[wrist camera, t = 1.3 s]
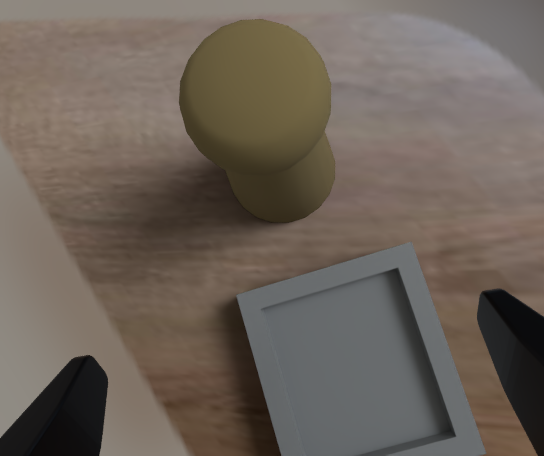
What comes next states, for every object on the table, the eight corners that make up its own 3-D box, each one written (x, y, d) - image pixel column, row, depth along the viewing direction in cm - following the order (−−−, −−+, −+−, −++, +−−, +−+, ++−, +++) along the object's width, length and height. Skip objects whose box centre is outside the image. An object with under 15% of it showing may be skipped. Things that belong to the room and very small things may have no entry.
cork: (256, 241, 23) (198, 207, 12) (212, 148, 24) (122, 41, 13) (354, 193, 23) (383, 115, 12) (306, 100, 24) (292, -49, 13)
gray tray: (470, 437, 21) (486, 453, 19) (297, 482, 21) (294, 503, 19) (403, 245, 22) (411, 241, 20) (243, 293, 23) (236, 294, 21)
